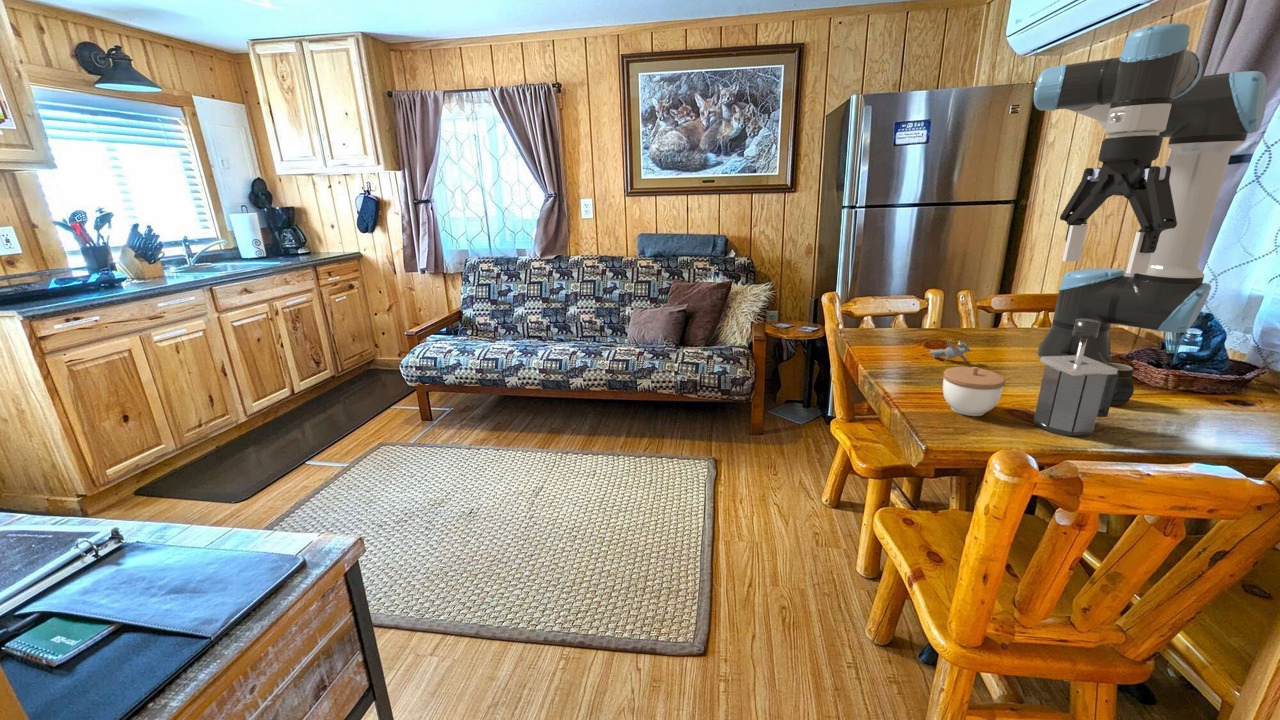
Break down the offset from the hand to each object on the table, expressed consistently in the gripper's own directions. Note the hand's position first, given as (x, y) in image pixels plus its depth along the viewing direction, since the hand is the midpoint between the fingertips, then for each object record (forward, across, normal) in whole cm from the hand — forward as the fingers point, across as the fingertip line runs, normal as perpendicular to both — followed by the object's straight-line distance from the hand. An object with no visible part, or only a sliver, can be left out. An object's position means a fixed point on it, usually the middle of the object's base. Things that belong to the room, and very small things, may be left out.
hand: (1101, 266), depth 95 cm
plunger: (+28, 0, 0) cm, 28 cm away
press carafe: (+31, 0, +1) cm, 31 cm away
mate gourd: (+31, -11, +18) cm, 37 cm away
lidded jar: (+31, -9, -13) cm, 35 cm away
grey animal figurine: (+31, -39, 0) cm, 50 cm away
